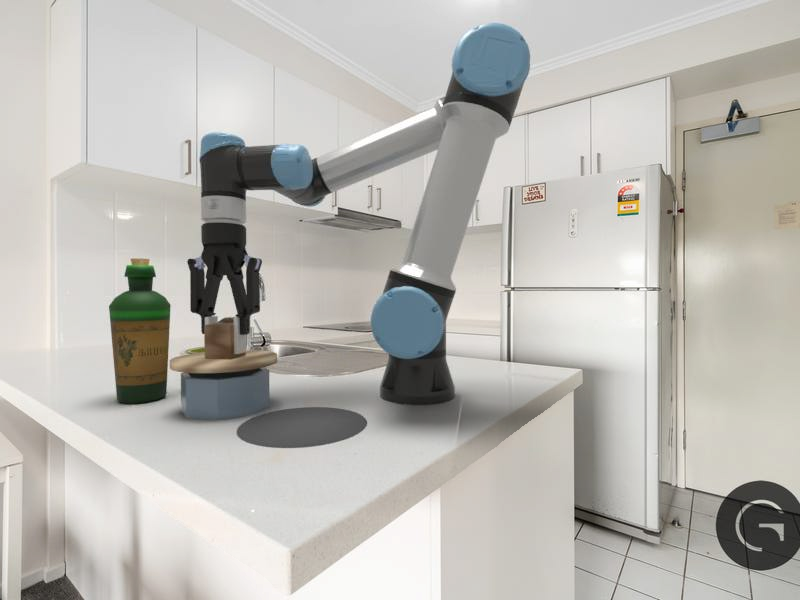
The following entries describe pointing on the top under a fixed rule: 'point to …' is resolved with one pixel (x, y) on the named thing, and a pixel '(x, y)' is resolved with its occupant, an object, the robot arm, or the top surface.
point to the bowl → (224, 393)
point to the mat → (301, 427)
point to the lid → (221, 354)
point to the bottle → (140, 337)
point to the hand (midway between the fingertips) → (225, 352)
